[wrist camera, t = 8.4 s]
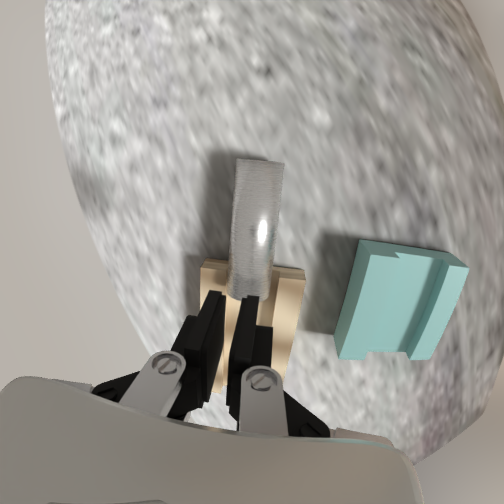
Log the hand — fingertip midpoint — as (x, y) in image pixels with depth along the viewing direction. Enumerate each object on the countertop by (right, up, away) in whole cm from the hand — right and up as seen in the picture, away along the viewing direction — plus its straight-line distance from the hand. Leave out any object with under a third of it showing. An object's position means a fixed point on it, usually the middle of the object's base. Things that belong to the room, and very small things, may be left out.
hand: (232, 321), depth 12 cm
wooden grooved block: (0, -6, +20) cm, 21 cm away
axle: (+2, +6, +14) cm, 15 cm away
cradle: (+17, -2, +16) cm, 23 cm away
